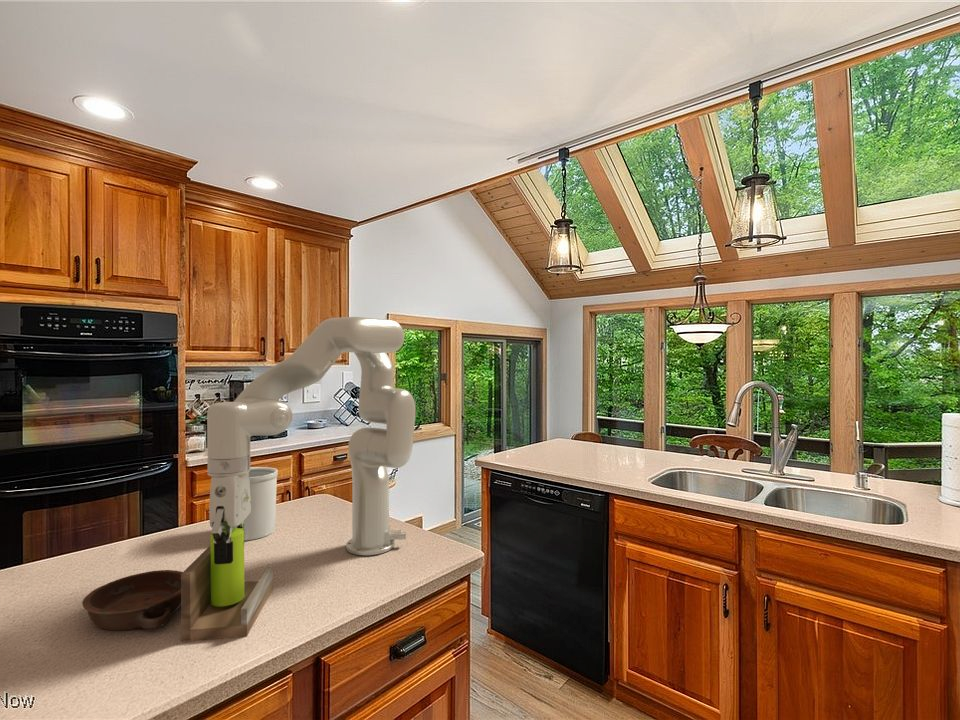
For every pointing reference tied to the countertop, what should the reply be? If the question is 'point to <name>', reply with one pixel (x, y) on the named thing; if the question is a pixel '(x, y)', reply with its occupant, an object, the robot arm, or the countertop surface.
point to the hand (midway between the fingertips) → (229, 555)
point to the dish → (135, 601)
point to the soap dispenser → (228, 572)
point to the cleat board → (212, 620)
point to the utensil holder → (261, 503)
